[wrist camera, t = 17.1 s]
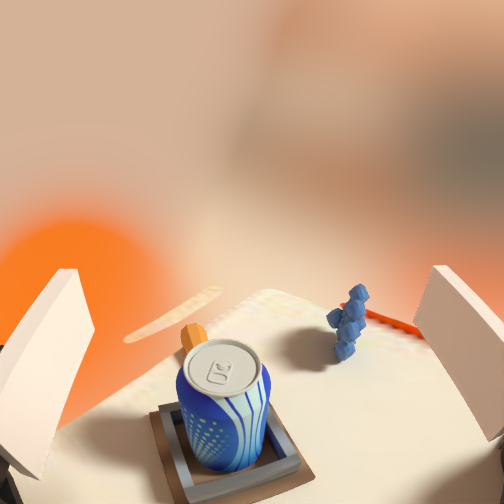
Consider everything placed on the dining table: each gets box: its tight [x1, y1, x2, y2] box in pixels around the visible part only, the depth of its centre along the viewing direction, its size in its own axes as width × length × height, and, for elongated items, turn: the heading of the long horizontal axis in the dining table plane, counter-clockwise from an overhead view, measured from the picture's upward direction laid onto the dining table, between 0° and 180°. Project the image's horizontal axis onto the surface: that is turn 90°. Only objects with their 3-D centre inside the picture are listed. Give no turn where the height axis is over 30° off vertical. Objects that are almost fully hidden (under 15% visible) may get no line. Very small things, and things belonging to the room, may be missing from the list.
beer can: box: [176, 339, 271, 473], centre depth 28 cm, size 8×8×16 cm
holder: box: [149, 402, 315, 504], centre depth 31 cm, size 16×16×4 cm
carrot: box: [181, 323, 208, 354], centre depth 42 cm, size 20×4×4 cm, turn 20°
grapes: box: [326, 284, 369, 361], centre depth 47 cm, size 12×7×12 cm, turn 157°
